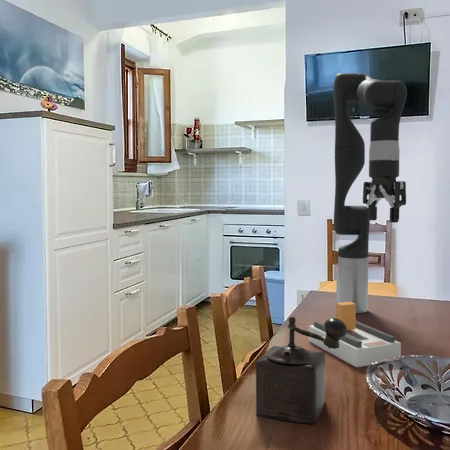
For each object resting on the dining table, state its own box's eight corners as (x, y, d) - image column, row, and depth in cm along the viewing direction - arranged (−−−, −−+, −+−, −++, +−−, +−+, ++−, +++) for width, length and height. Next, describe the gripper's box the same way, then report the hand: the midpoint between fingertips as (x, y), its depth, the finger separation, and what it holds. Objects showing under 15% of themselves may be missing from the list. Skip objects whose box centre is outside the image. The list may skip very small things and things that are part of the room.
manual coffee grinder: (252, 416, 85) (252, 314, 83) (272, 392, 95) (272, 300, 93) (344, 433, 79) (345, 323, 77) (354, 405, 89) (355, 307, 87)
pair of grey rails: (314, 326, 125) (314, 321, 125) (347, 322, 129) (347, 317, 129) (357, 347, 108) (357, 342, 108) (394, 342, 112) (394, 336, 112)
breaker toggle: (335, 328, 121) (336, 303, 121) (349, 326, 123) (349, 301, 122) (341, 331, 119) (341, 305, 119) (355, 329, 120) (355, 303, 120)
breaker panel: (308, 341, 126) (308, 325, 126) (348, 335, 130) (348, 320, 130) (356, 367, 107) (356, 349, 107) (400, 360, 112) (401, 342, 111)
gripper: (355, 160, 133) (354, 220, 135) (390, 157, 120) (389, 223, 121) (378, 160, 136) (377, 219, 137) (415, 157, 123) (413, 222, 124)
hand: (383, 221), depth 129 cm, fingers open, 8 cm apart
